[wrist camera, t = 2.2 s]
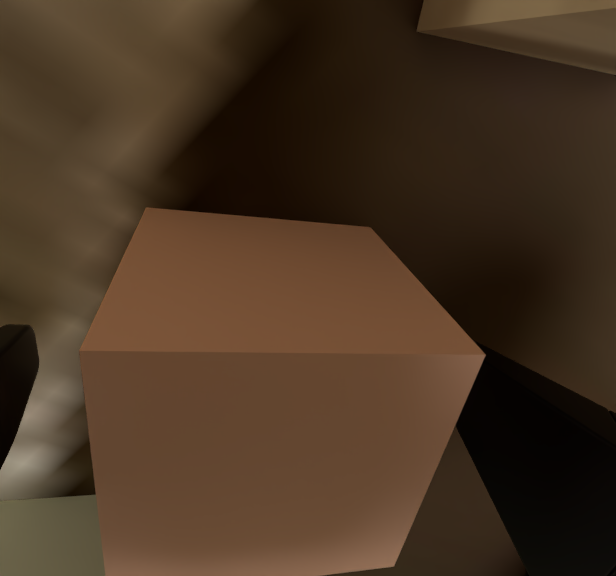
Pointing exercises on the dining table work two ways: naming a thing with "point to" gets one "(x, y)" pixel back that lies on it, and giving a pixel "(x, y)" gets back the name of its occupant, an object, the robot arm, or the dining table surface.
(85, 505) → the sage block
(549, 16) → the birch block
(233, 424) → the terracotta block
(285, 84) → the dining table surface
